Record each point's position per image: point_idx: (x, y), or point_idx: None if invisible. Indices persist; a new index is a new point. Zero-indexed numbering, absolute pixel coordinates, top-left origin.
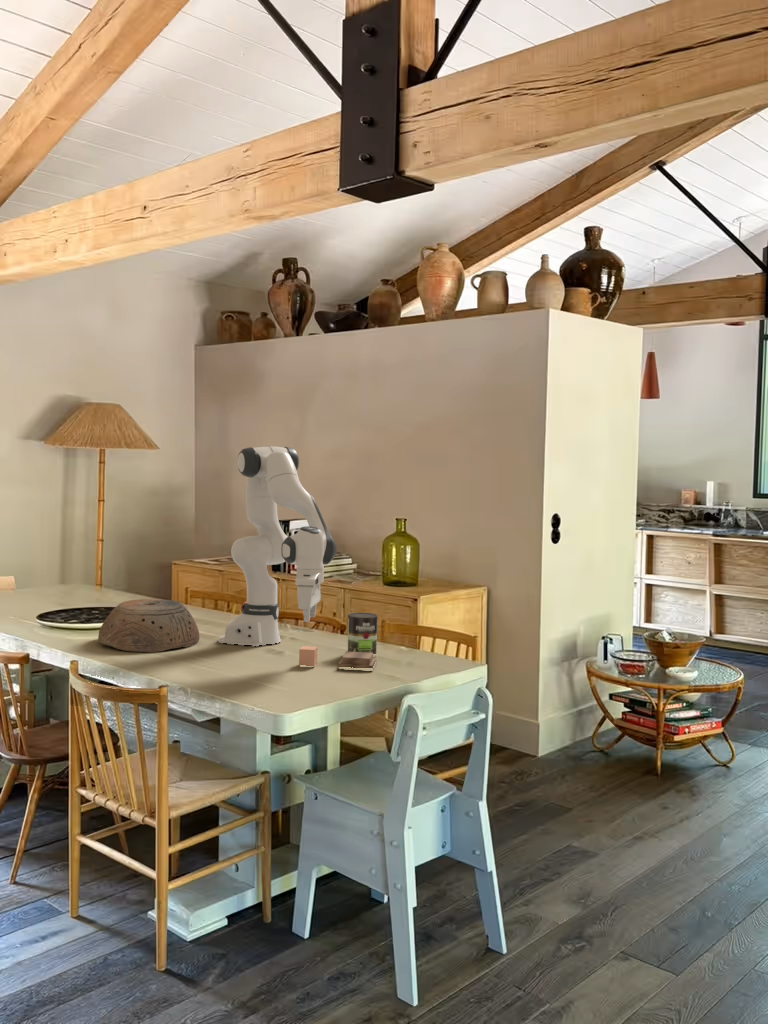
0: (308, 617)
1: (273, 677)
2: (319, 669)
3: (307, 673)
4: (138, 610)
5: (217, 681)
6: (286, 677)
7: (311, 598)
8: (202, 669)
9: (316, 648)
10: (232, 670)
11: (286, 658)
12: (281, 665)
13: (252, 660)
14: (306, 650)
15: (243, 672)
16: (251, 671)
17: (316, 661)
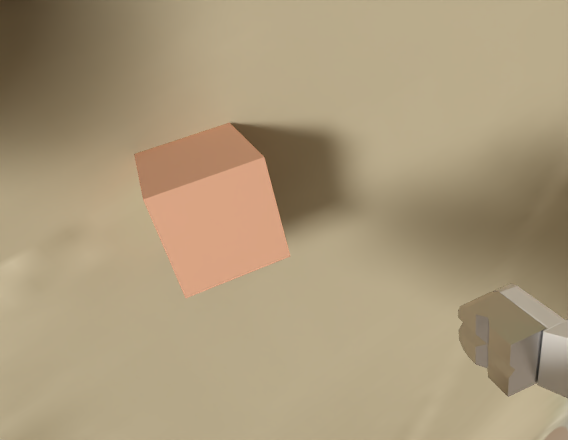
0: (557, 319)
1: (475, 191)
2: (245, 76)
3: (362, 92)
4: None
5: (556, 307)
6: (463, 143)
7: None
8: (429, 437)
9: (184, 183)
10: (414, 371)
11: (96, 371)
12: (258, 295)
13: (232, 435)
14: (276, 210)
15: (430, 327)
16: (408, 317)
17: (159, 154)
